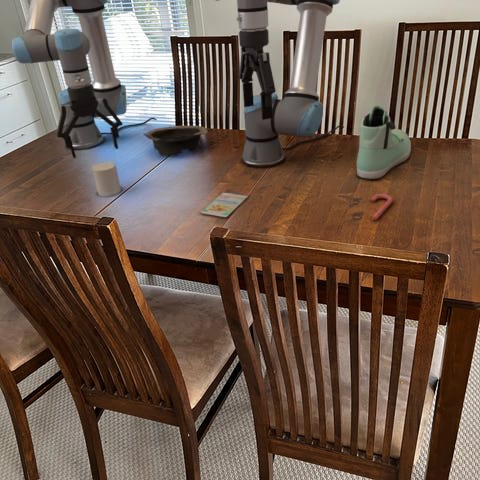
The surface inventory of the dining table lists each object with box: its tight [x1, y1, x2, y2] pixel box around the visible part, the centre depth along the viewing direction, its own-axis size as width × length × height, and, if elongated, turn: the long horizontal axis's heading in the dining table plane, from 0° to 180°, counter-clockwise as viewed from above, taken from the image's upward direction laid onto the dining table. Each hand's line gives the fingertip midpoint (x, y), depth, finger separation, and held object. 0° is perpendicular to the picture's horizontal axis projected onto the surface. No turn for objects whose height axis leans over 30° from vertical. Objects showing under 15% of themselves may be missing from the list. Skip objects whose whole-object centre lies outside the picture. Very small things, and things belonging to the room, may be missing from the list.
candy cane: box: [371, 193, 394, 221], centre depth 137 cm, size 6×15×2 cm, turn 145°
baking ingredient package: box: [199, 191, 249, 218], centre depth 146 cm, size 9×1×15 cm
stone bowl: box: [143, 125, 208, 157], centre depth 189 cm, size 25×25×9 cm
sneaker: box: [356, 105, 412, 180], centre depth 161 cm, size 14×35×20 cm, turn 152°
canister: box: [91, 161, 122, 197], centre depth 158 cm, size 8×8×9 cm
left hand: (95, 152), depth 155 cm, fingers open, 13 cm apart
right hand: (257, 112), depth 132 cm, fingers open, 13 cm apart
